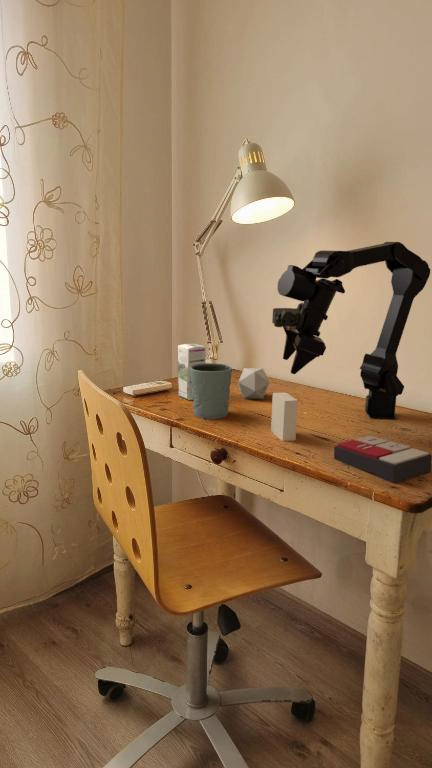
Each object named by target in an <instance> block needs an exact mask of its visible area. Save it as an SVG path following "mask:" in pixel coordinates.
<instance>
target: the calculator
mask: <svg viewBox="0 0 432 768" xmlns="http://www.w3.org/2000/svg"><path fill="white" fill-rule="evenodd" d="M333 448H334V449H333V460H336V461H337V462H341V463H343V464H345V465H347V466H351V467H353V468H355V469H359V470H361V471H364V472H366V473H370V474H372V475H374V476H375V477H377V478H380V479H382V480H384V481H386V482H389V483H392V484H395V483H396V484H400V483H403V482H405V481H407V480H411V479H414V478H416V477H417V478H418V477H419V476H422V475H427V474H429V473H431V471H432V454H431V453H429V452H427V451H424V450H419V449H416V448H411V446H409V445H406V444H402V443H398V442H396V441H389V440H387V439H384V438H380V437H376V436H373V435H368V436H363V437H359V438H356V439H351V440H346V441H343V442H339V443H337V445H335V446H334V447H333Z"/></svg>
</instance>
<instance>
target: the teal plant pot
mask: <svg viewBox="0 0 432 768" xmlns="http://www.w3.org/2000/svg"><path fill="white" fill-rule="evenodd" d="M190 370H191V382H192V386H193V389H192V391H193V392H192V393H193V399H194V400H192V401H193V405H192V407H193V414H194V416H196V417H197V418H201V419H208V420H215V419H217V420H218V419H223V418H225V417H227V416H228V414H229V406H230V402H229V400H230V394H231V393H230V392H231V389H230V387H231V384H232V381H231V380H232V372H233V367H232V365H229V364H225V363H217V362H209V363H208V362H207V363H206V362H205V363H202V364H196V365H193V366H191V368H190Z"/></svg>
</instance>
